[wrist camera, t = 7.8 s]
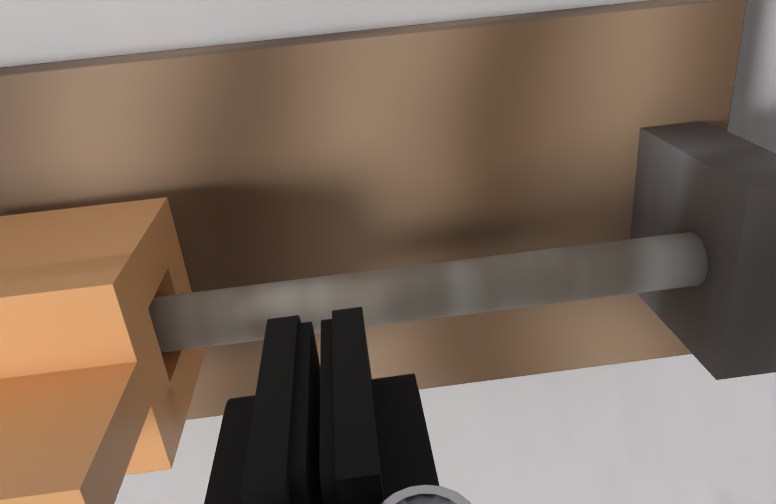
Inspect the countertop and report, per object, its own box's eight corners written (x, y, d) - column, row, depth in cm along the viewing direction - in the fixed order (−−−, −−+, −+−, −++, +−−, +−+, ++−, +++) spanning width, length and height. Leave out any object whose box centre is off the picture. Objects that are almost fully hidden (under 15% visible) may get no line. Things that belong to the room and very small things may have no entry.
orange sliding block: (167, 197, 14) (40, 397, 8) (206, 349, 16) (129, 611, 10) (-57, 222, 14) (-374, 450, 8) (9, 373, 16) (-203, 659, 10)
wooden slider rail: (711, -6, 16) (994, 26, 9) (668, 326, 20) (840, 513, 14) (-274, 96, 15) (-770, 217, 8) (-95, 424, 19) (-321, 680, 12)
